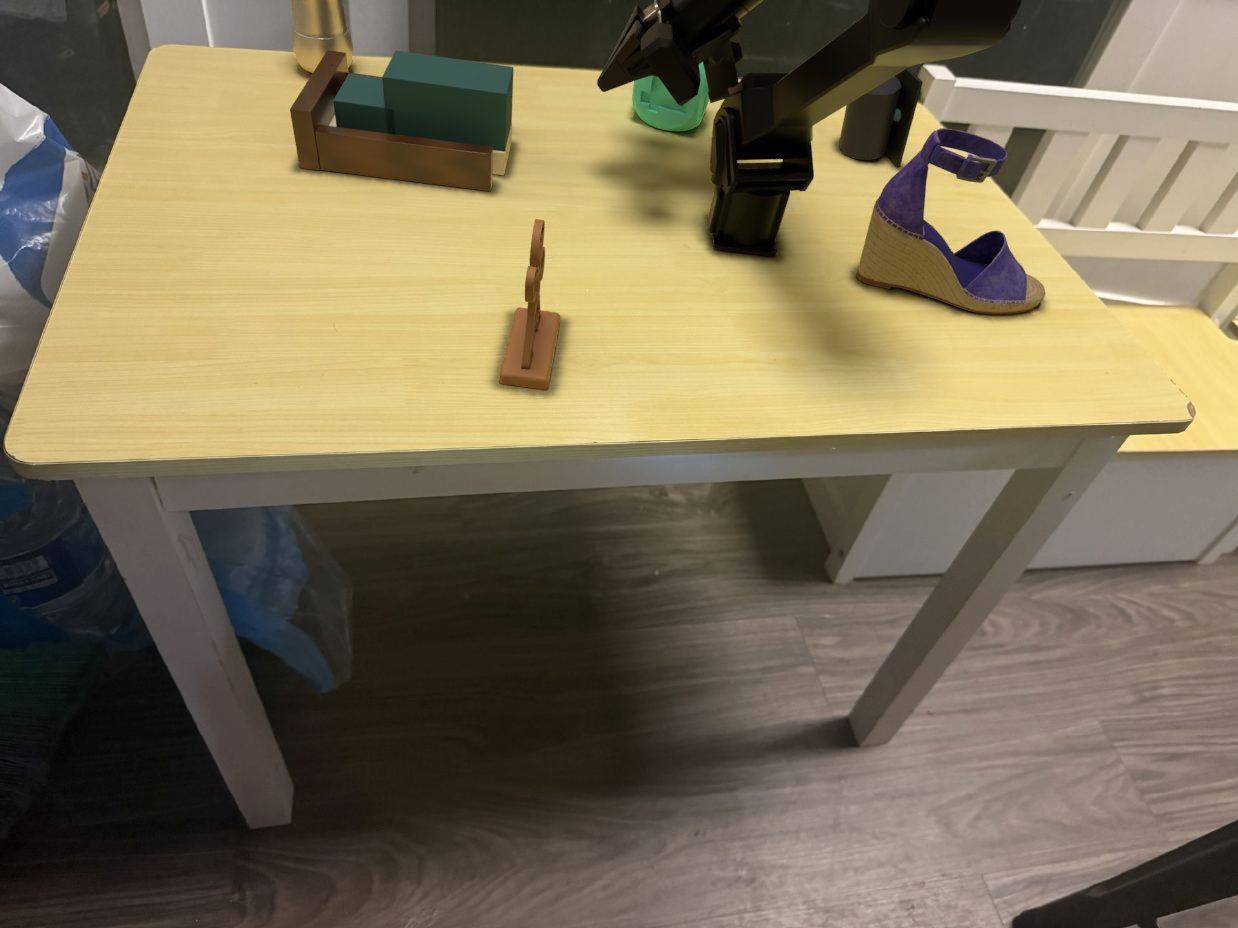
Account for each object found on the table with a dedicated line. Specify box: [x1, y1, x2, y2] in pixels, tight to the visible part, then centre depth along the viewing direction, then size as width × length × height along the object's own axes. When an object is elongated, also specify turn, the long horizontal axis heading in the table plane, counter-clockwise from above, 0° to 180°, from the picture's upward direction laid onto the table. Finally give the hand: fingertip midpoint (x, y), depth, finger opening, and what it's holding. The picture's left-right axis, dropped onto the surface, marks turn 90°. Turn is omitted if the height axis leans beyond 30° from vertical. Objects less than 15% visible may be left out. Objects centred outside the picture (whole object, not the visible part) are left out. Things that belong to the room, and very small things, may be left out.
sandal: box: [856, 127, 1046, 315], centre depth 77 cm, size 8×20×15 cm, turn 81°
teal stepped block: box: [329, 50, 514, 176], centre depth 84 cm, size 18×7×8 cm, turn 89°
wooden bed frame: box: [289, 50, 494, 192], centre depth 85 cm, size 19×14×6 cm
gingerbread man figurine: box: [499, 218, 561, 390], centre depth 63 cm, size 9×4×12 cm, turn 176°
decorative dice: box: [631, 62, 710, 132], centre depth 97 cm, size 8×8×8 cm
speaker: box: [838, 67, 924, 168], centre depth 97 cm, size 8×6×10 cm
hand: (599, 87), depth 82 cm, fingers closed
